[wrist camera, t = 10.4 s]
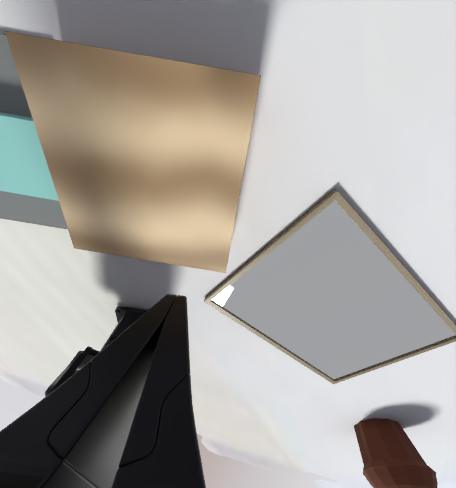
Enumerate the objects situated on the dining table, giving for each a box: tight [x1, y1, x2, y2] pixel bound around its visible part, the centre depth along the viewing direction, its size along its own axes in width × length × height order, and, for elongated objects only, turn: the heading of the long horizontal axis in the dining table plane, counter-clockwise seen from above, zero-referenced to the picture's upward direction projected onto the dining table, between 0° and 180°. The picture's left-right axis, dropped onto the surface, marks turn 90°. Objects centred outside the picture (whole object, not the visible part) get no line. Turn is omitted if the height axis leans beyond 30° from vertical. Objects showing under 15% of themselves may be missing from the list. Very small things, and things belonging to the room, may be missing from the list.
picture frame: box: [204, 189, 456, 384], centre depth 25 cm, size 19×1×28 cm
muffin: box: [354, 419, 437, 488], centre depth 37 cm, size 12×11×10 cm
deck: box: [5, 31, 261, 273], centre depth 16 cm, size 14×14×4 cm
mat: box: [0, 34, 68, 229], centre depth 17 cm, size 15×13×1 cm
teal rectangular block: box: [0, 112, 59, 201], centre depth 16 cm, size 6×9×2 cm, turn 81°
